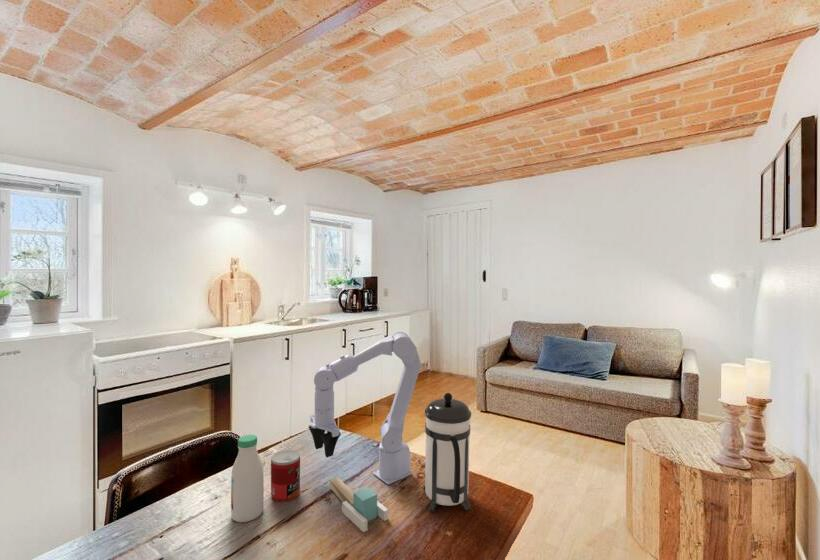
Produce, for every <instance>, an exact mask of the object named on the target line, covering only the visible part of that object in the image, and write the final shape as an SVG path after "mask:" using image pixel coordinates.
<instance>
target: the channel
mask: <svg viewBox="0 0 820 560" xmlns="http://www.w3.org/2000/svg"><path fill="white" fill-rule="evenodd" d="M341 513H342V514H343V515H344V516H345V517H346V518H348V519H349V520H350V522H352V523H353V524H354V525H355V526H356V527H357V528H358V529H359V530H360V531H362V533H365V532H367V531H368V522H367V519H366V518H365V517H363V516H362V515H361V514H360V513H359V512H358V511H357V510H356V509H354V508H353V507H352V506H351V505H350V504H349V503H348V502H347V501H345V502H342V501H341ZM377 517H379V518H380V519H381V520H382V521H383V522H385V521H387V520H388V519H389V509H388V508H387V507H386V506H384V505H383V504H382V503H381V502H380V501H378V500H377Z"/></svg>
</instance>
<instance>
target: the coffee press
mask: <svg viewBox="0 0 820 560" xmlns="http://www.w3.org/2000/svg"><path fill="white" fill-rule="evenodd" d="M471 411H472V410H470V408H469V406H468V405H467V404H466V403H464V402H463V401H462V400H458V399H456V398H453V396H452V394H451V393H449V392H446V393H444V395H443V398H438V399H437V398H436V399H434V400H432V401H431V402H429V403H428V404H427V406H426V407H425V409H424V416H425V423H424V432H425V461H424V462H425V464H424V466H425V468H424V469H425V471H424V472H425V473H424V481H425V482H424V486H423V490H424V492H425V494H426V496H427V497H428V499H429V500H430V505H429V507H428V510H429V511H430V512H432V513H436V511H437V509H438V508H439V505H441V506H449V507H451V506H457V505H459V504H460V505H461V506H462V508H463V509H464V510H465V511H470V509H471V508H472V504H471V502H470V500H469V497H468V495H469V478H470V476H469V475H470V471H469V470H470V468H469V467H470V435H471V424H470V423H471V422H470V421H471V420H470V419H471V418H472V412H471Z"/></svg>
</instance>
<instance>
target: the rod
mask: <svg viewBox="0 0 820 560" xmlns="http://www.w3.org/2000/svg"><path fill="white" fill-rule="evenodd" d="M329 489H330V490H332V492H333V494H335V495H336V496H337V498H338V499H339V500H340V501H341V503H342V502H345V501H347V502H348V503H349V504H350V505H351V506H352V507H353V494H354V492H353V491H352V490H351V488H349V487H348V486H347V485H346V483H344V481H343V480H342V479H341V478H339V476H337V477H334V478H331V479H329Z"/></svg>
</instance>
